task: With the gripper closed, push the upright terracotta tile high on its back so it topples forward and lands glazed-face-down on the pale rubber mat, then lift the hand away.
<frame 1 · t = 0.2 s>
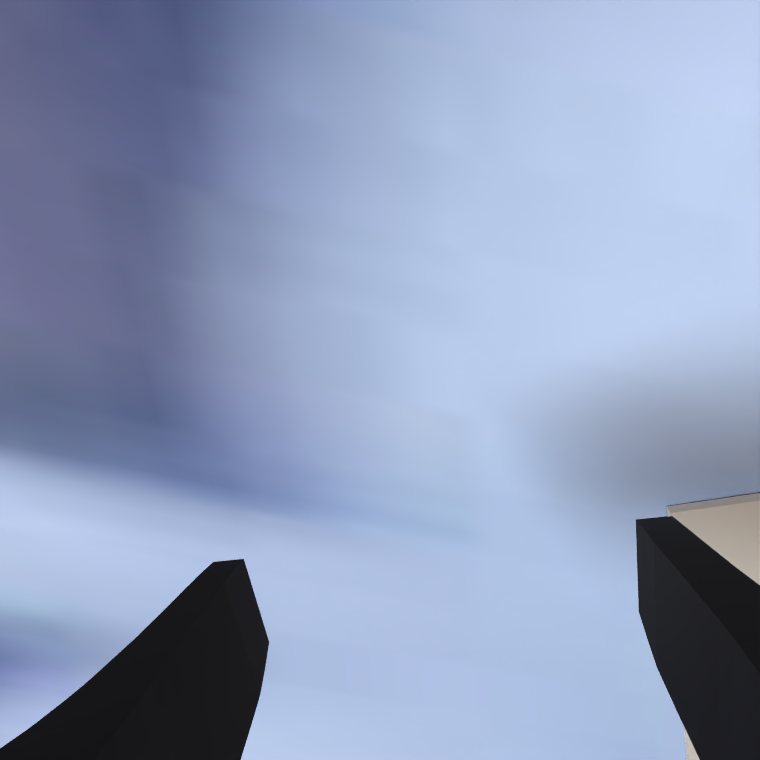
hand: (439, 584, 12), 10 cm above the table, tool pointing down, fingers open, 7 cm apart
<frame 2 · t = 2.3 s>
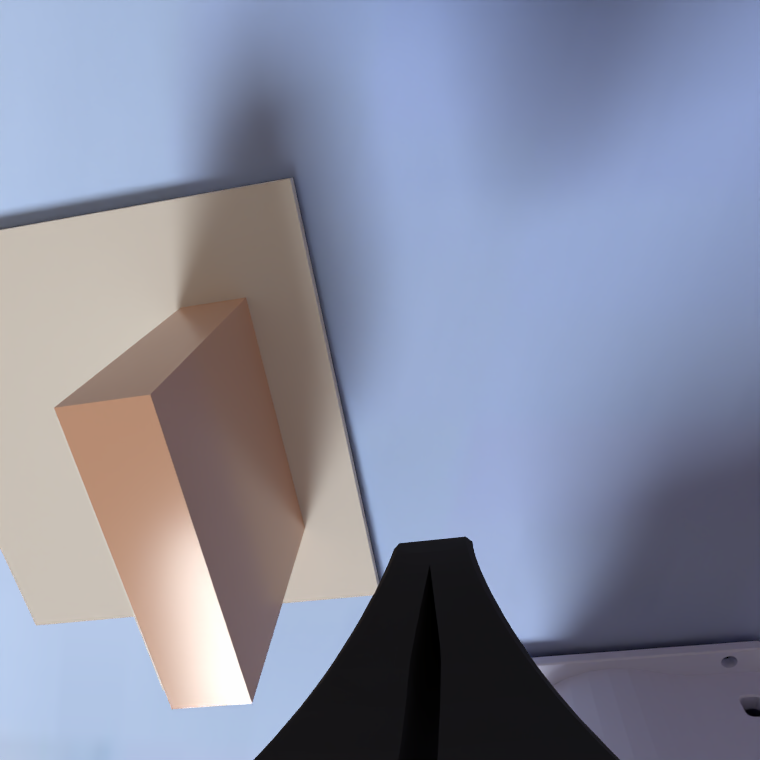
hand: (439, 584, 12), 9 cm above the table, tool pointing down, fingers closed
tile: (246, 424, 21), resting on mat
mat: (147, 432, 21), on the table
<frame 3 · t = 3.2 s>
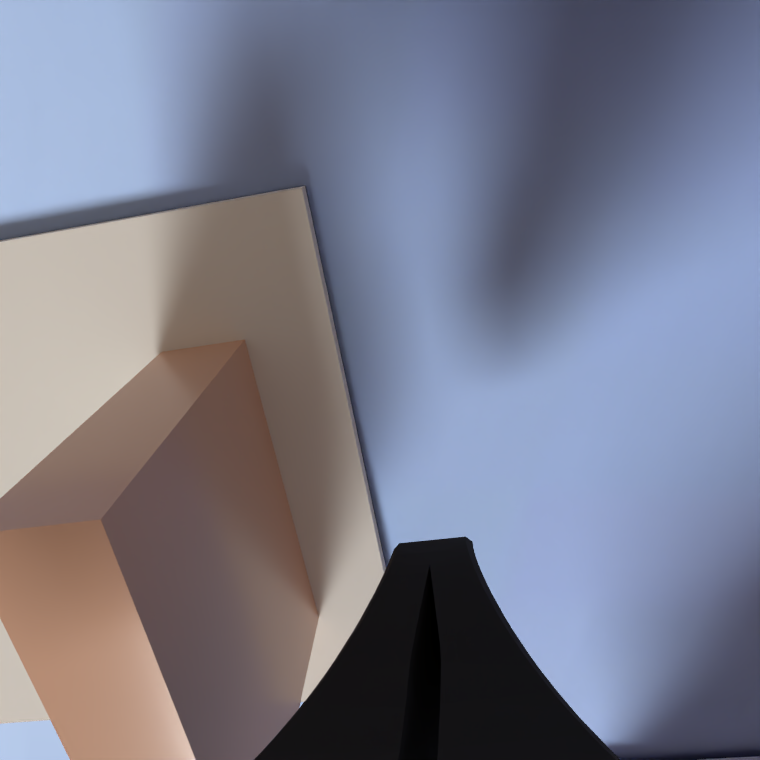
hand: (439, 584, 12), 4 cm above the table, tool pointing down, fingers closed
tile: (246, 495, 16), resting on mat
mat: (123, 501, 17), on the table
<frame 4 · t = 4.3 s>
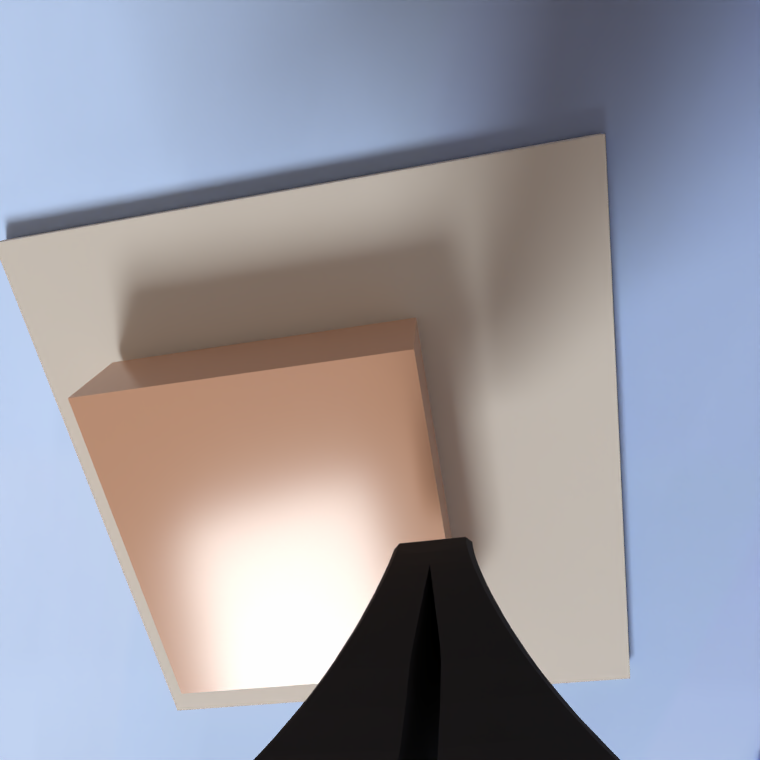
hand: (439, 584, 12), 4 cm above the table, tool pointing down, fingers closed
tile: (442, 501, 15), point 2 cm above the table, tilted 90°, touching mat
mat: (347, 475, 16), on the table
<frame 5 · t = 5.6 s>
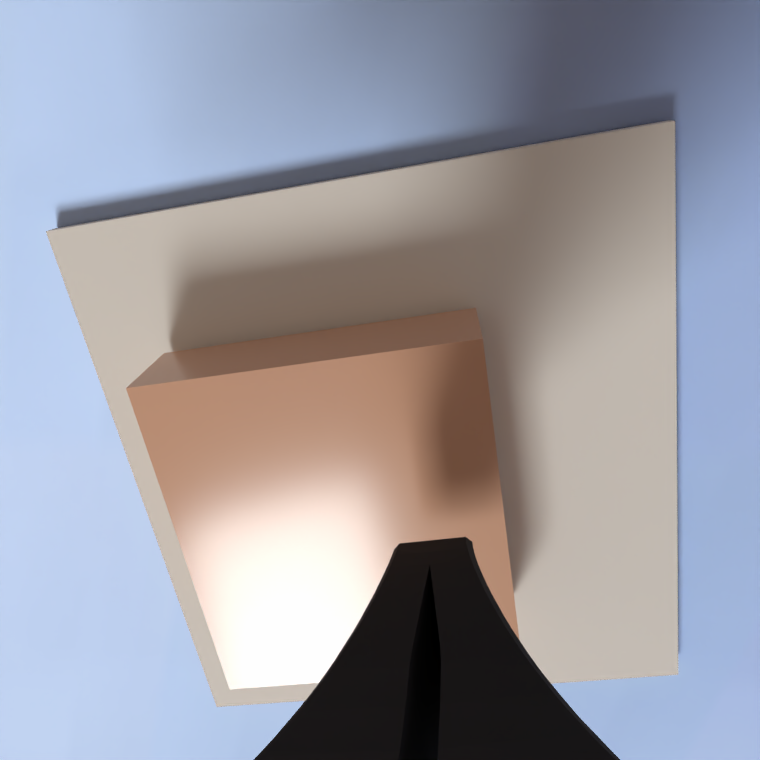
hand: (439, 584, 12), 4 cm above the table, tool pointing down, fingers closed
tile: (500, 494, 14), point 2 cm above the table, tilted 90°, touching mat
mat: (397, 468, 16), on the table
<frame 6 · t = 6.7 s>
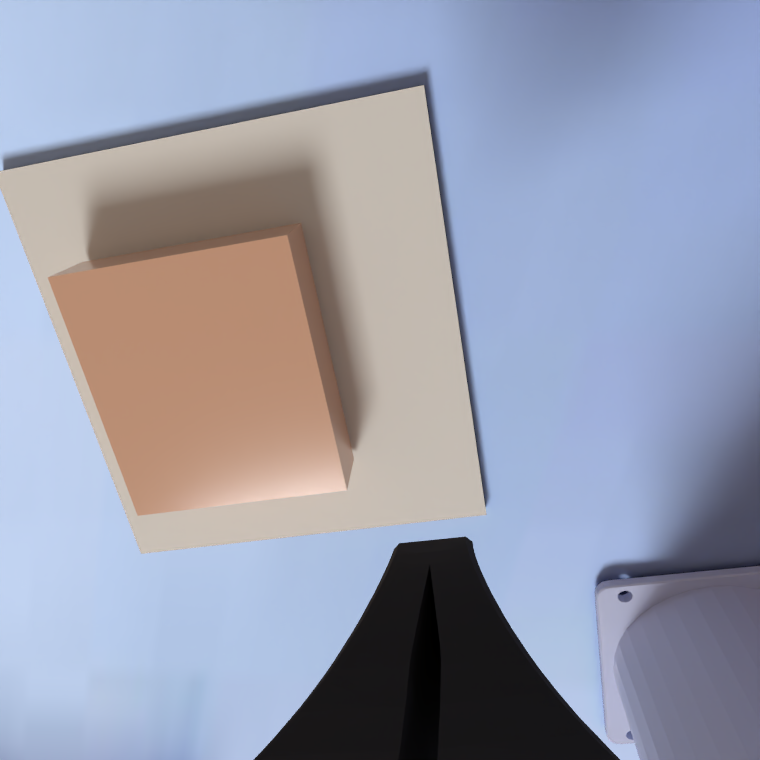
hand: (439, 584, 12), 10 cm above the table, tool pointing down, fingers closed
tile: (324, 360, 20), point 2 cm above the table, tilted 90°, touching mat
mat: (262, 352, 22), on the table
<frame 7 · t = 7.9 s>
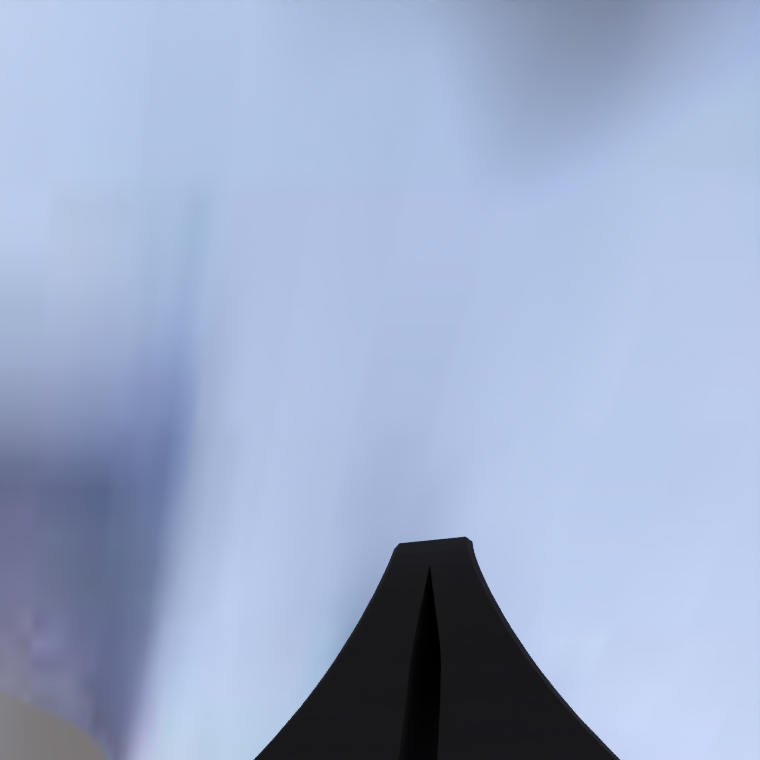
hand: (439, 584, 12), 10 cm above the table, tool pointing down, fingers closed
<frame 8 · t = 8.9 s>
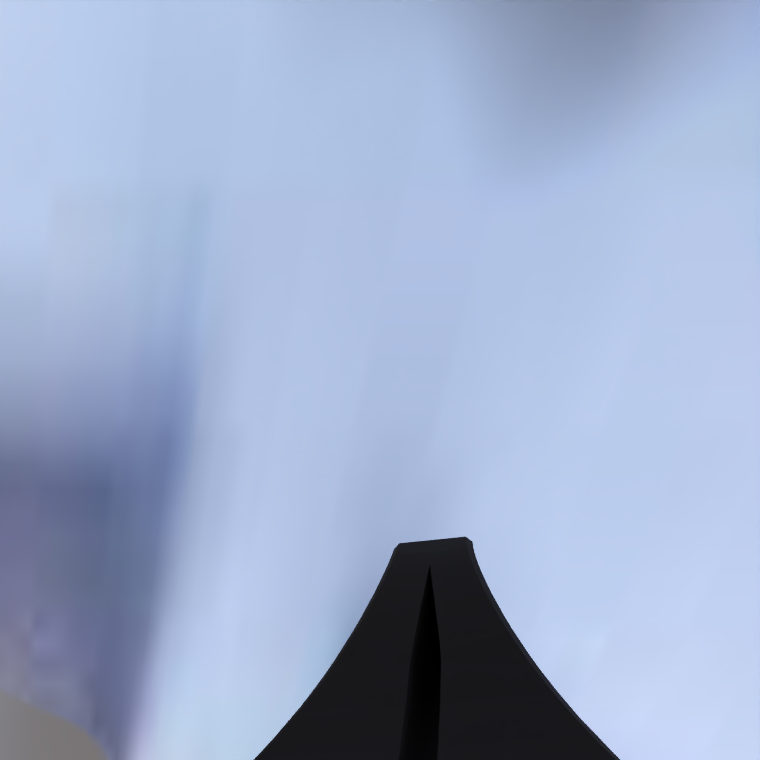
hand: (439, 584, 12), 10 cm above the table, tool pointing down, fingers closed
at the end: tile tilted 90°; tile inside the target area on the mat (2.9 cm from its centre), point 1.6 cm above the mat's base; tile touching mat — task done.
